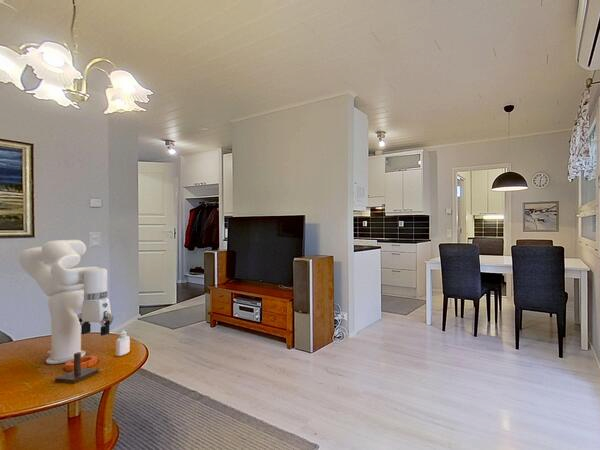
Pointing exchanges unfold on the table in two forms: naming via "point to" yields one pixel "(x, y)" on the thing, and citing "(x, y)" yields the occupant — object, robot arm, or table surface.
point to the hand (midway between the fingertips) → (95, 333)
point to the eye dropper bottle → (122, 344)
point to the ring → (82, 362)
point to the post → (77, 372)
